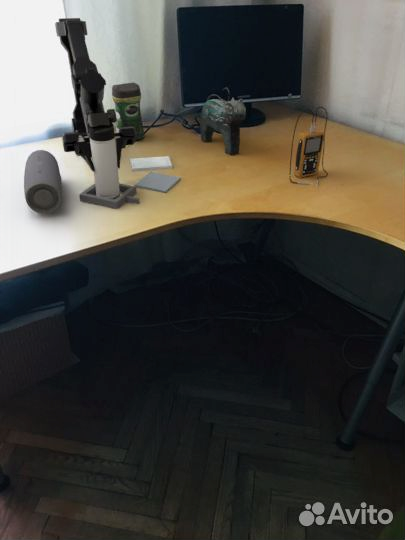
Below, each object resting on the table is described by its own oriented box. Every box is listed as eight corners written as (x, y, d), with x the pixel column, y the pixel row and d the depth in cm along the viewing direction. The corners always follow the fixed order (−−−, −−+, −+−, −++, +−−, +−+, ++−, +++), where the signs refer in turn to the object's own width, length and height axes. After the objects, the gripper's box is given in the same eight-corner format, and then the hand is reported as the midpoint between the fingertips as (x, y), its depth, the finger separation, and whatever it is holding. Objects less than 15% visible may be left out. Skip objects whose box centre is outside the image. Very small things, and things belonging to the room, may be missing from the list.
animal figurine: (244, 154, 152) (249, 92, 140) (229, 158, 149) (232, 95, 137) (209, 137, 165) (211, 78, 154) (195, 140, 162) (195, 81, 150)
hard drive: (132, 168, 139) (172, 164, 141) (129, 158, 145) (168, 155, 148) (132, 173, 140) (172, 170, 142) (130, 163, 146) (168, 160, 148)
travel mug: (124, 194, 127) (119, 121, 115) (113, 204, 121) (106, 129, 110) (104, 190, 128) (97, 118, 117) (92, 200, 123) (83, 126, 111)
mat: (134, 186, 131) (134, 184, 130) (150, 173, 138) (150, 171, 138) (165, 192, 127) (165, 191, 127) (180, 179, 135) (180, 177, 135)
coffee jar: (137, 133, 168) (134, 79, 157) (147, 139, 162) (144, 84, 151) (113, 137, 164) (107, 82, 153) (121, 144, 158) (116, 88, 147)
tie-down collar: (80, 201, 123) (79, 194, 121) (101, 186, 131) (100, 179, 129) (129, 212, 118) (128, 205, 117) (148, 195, 126) (147, 188, 125)
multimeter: (303, 190, 130) (315, 120, 119) (283, 177, 137) (291, 109, 126) (343, 181, 136) (357, 113, 124) (321, 169, 143) (333, 103, 131)
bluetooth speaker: (66, 215, 116) (60, 179, 110) (28, 220, 114) (19, 183, 108) (62, 179, 134) (56, 146, 128) (29, 183, 132) (21, 149, 126)
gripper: (56, 100, 110) (69, 160, 108) (132, 94, 116) (145, 151, 114) (58, 123, 121) (69, 178, 119) (127, 116, 126) (139, 169, 124)
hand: (106, 169), depth 119 cm, fingers closed on travel mug, 6 cm apart
